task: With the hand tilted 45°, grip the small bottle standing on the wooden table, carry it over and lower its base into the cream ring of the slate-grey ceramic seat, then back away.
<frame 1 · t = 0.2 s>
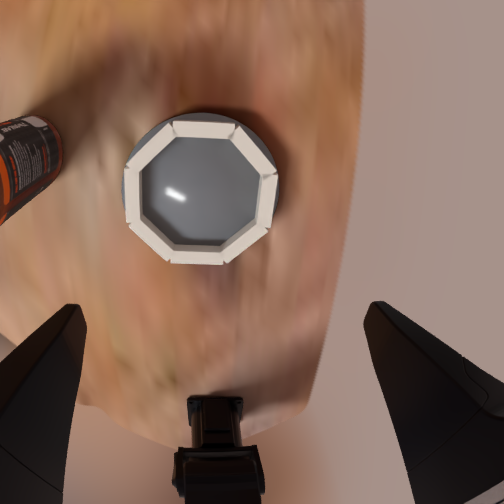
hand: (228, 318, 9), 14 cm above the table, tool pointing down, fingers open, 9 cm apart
ring seat: (199, 190, 22), on the table
supplement bottle: (34, 151, 18), on the table
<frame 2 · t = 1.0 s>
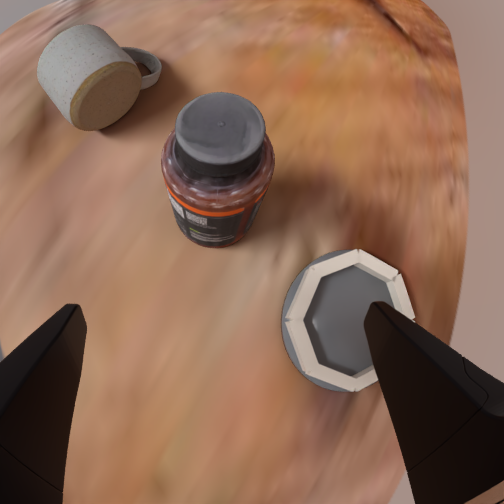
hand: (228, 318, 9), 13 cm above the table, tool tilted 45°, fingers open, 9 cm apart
ceramic mug: (109, 94, 25), on the table
ring seat: (349, 321, 23), on the table
supplement bottle: (213, 212, 24), on the table
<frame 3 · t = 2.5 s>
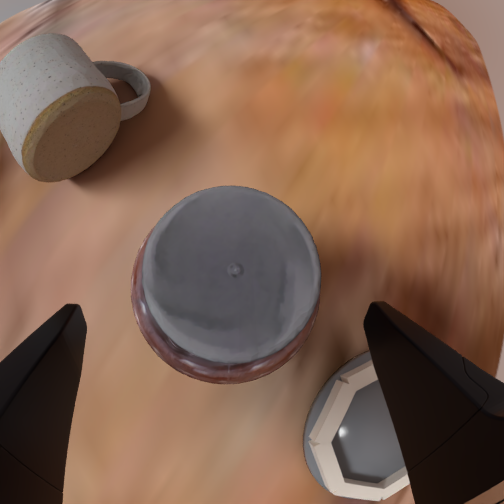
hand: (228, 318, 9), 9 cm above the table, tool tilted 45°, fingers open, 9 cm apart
ceramic mug: (84, 125, 19), on the table
ring seat: (381, 426, 17), on the table
supplement bottle: (217, 306, 18), on the table
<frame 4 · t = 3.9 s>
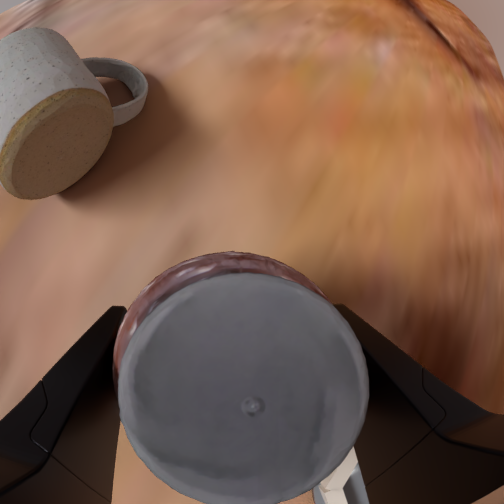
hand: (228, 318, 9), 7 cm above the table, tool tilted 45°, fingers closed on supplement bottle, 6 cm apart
ceramic mug: (73, 130, 17), on the table
ring seat: (394, 464, 15), on the table
supplement bottle: (220, 348, 15), on the table, touching gripper
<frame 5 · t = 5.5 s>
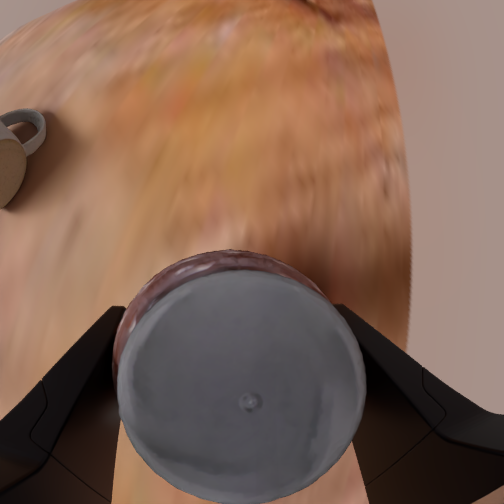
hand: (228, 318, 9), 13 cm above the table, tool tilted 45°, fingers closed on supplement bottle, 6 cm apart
ceramic mug: (7, 164, 22), on the table
supplement bottle: (219, 346, 15), point 6 cm above the table, touching gripper
when the fingers open (8 cm above the table, at t = 7.4 s): supplement bottle drops 1 cm, resting on ring seat.
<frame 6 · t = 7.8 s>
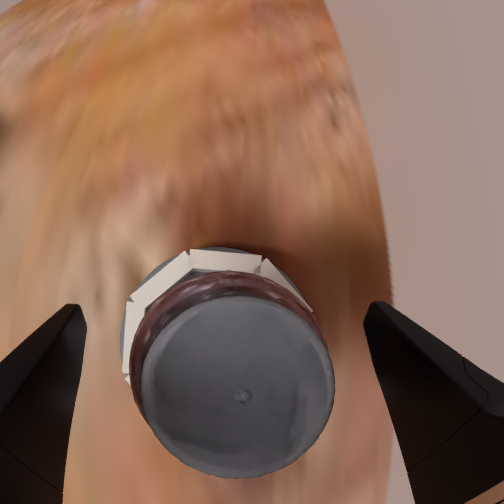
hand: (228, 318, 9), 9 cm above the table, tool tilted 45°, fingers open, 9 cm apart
ring seat: (218, 345, 17), on the table
supplement bottle: (219, 349, 17), resting on ring seat
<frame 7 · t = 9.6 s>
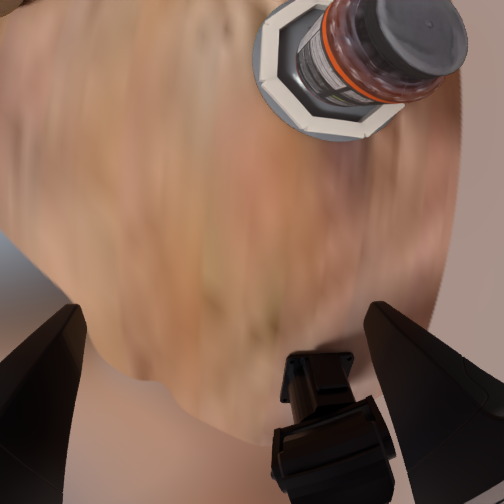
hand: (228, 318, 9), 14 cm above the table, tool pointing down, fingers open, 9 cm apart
ring seat: (333, 64, 18), on the table
supplement bottle: (336, 66, 18), resting on ring seat
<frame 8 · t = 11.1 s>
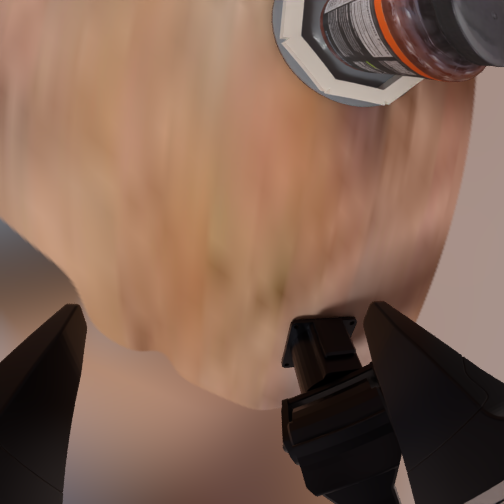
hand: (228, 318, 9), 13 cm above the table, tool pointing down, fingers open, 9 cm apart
ring seat: (356, 28, 15), on the table
supplement bottle: (359, 29, 15), resting on ring seat
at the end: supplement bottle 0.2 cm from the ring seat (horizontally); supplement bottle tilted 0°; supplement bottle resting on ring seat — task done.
